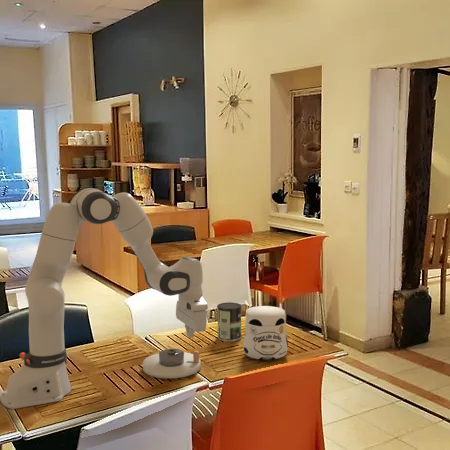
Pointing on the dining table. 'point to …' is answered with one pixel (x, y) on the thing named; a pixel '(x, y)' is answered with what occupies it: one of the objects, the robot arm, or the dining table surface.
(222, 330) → the coffee can
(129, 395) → the dining table surface
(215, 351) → the dining table surface
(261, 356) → the milk container
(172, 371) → the crank wheel
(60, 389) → the robot arm
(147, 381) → the dining table surface
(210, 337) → the dining table surface
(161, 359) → the iron cover
